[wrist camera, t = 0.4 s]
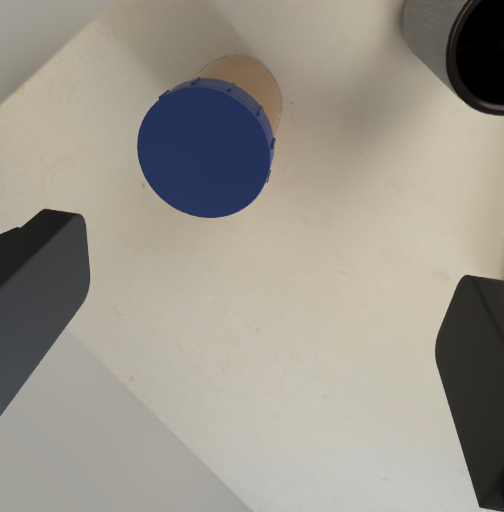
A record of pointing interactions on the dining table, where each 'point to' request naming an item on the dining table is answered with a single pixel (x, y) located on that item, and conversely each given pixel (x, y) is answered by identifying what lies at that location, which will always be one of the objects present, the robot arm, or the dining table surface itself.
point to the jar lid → (206, 148)
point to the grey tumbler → (461, 47)
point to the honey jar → (248, 82)
